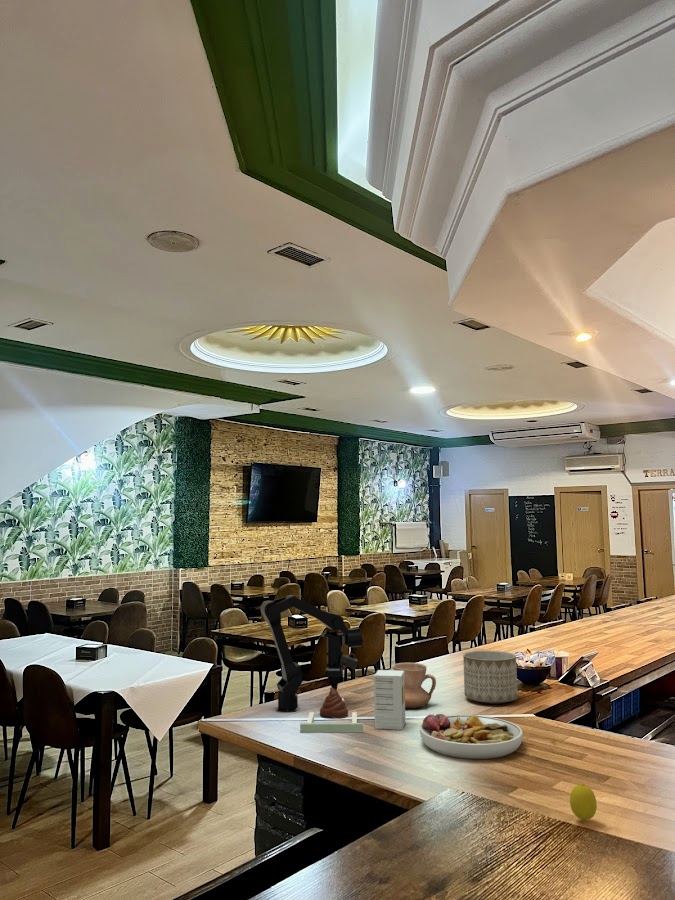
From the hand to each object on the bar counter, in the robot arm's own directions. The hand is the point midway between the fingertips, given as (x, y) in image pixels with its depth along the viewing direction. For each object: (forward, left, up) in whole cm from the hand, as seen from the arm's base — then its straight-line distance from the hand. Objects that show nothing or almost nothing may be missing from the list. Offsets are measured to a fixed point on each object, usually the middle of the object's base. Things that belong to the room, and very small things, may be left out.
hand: (335, 692), depth 250 cm
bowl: (+42, -46, -5) cm, 63 cm away
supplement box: (+19, -27, -5) cm, 33 cm away
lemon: (+58, -100, -5) cm, 115 cm away
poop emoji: (0, -14, -5) cm, 15 cm away
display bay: (0, -26, -4) cm, 26 cm away
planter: (+58, +5, -5) cm, 58 cm away
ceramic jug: (+28, -2, -5) cm, 28 cm away
